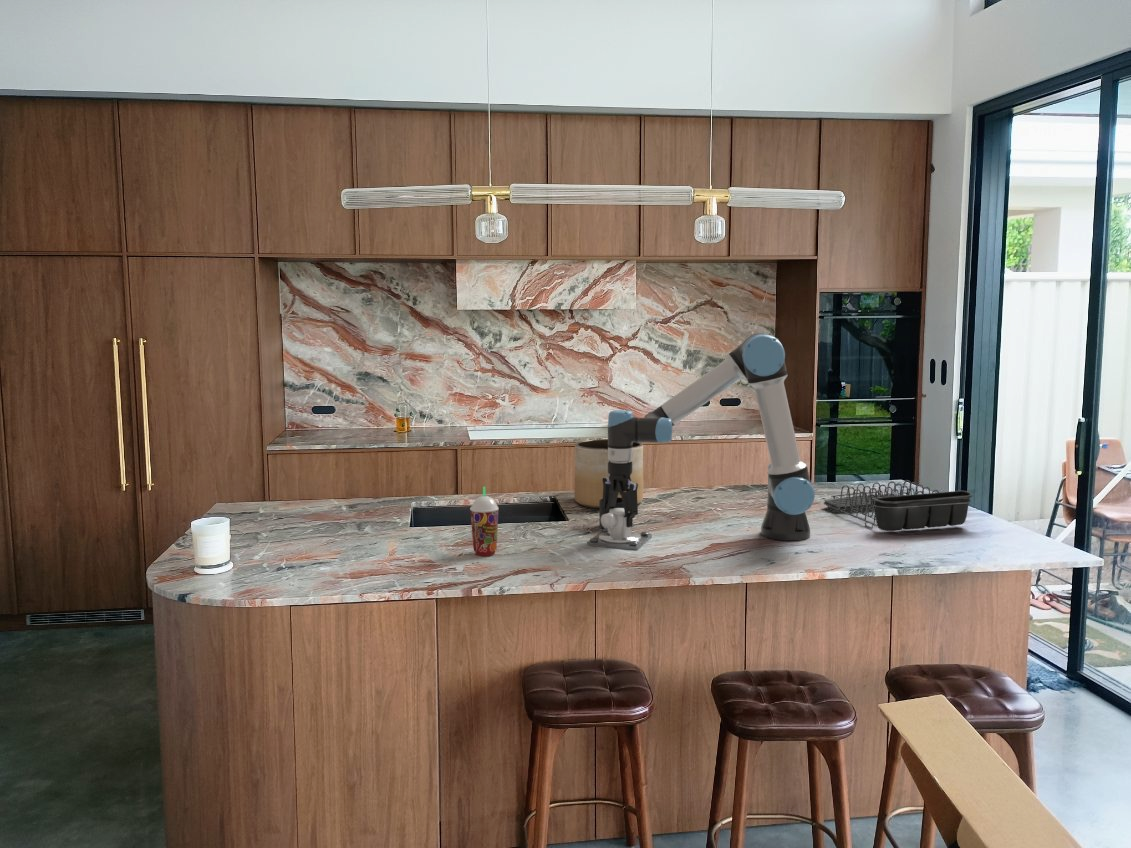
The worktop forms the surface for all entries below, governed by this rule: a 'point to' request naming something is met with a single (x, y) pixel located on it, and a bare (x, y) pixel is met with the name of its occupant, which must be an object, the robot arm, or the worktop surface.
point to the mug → (602, 511)
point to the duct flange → (620, 540)
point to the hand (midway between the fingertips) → (619, 534)
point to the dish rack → (905, 507)
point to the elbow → (614, 522)
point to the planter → (601, 471)
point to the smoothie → (484, 525)
